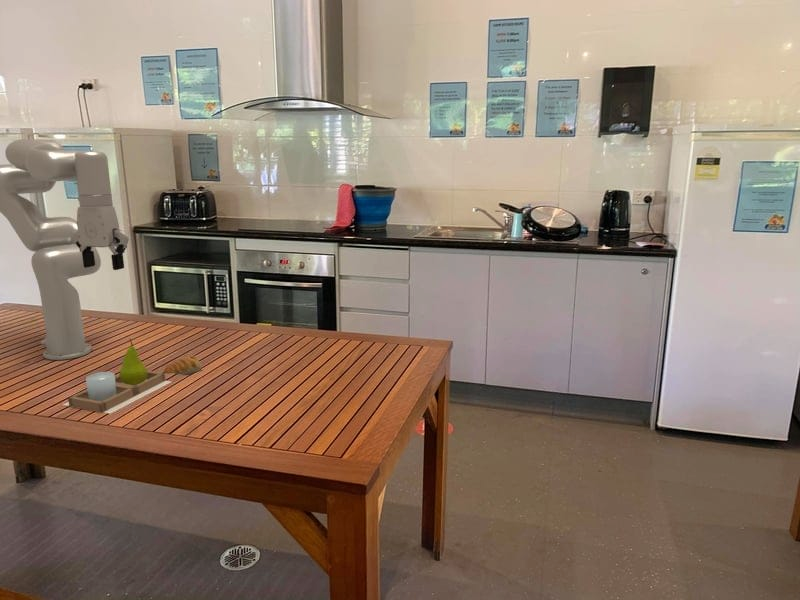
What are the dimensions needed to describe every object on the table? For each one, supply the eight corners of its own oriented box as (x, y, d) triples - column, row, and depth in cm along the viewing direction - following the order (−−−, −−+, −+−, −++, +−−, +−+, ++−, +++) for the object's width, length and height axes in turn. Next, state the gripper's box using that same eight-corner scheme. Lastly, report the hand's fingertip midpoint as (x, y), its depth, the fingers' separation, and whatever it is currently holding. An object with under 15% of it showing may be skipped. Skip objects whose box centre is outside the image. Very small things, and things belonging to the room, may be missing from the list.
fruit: (131, 391, 144) (125, 344, 141) (115, 386, 147) (110, 340, 144) (154, 383, 149) (149, 337, 146) (138, 378, 152) (133, 333, 149)
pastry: (172, 380, 155) (171, 366, 154) (159, 374, 159) (157, 361, 158) (204, 370, 162) (203, 357, 161) (190, 365, 166) (189, 352, 165)
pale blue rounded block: (83, 403, 137) (79, 379, 136) (103, 394, 143) (100, 370, 141) (103, 407, 135) (100, 382, 134) (123, 397, 141) (120, 373, 139)
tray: (63, 409, 137) (61, 396, 136) (128, 379, 155) (127, 367, 154) (110, 418, 132) (109, 405, 132) (172, 386, 151) (171, 374, 150)
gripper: (57, 201, 150) (66, 268, 154) (111, 203, 144) (119, 272, 148) (82, 199, 157) (90, 263, 161) (134, 201, 151) (141, 267, 155)
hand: (104, 267), depth 155 cm, fingers open, 9 cm apart
